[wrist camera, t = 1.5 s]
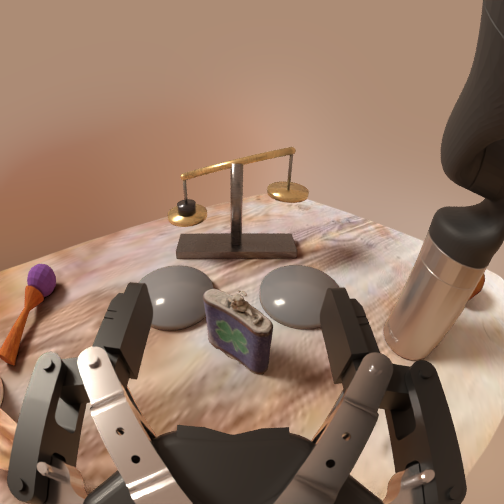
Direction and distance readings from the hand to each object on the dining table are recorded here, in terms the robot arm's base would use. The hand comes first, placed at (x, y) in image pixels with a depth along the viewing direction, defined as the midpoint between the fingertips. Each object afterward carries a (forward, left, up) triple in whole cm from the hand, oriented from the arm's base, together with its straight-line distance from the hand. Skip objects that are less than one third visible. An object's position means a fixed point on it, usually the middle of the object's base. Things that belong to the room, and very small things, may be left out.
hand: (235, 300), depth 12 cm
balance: (0, -35, -22) cm, 41 cm away
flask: (0, -12, -23) cm, 25 cm away
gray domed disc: (-10, -22, -22) cm, 33 cm away
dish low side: (+10, -22, -22) cm, 33 cm away
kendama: (+36, -15, -23) cm, 45 cm away
